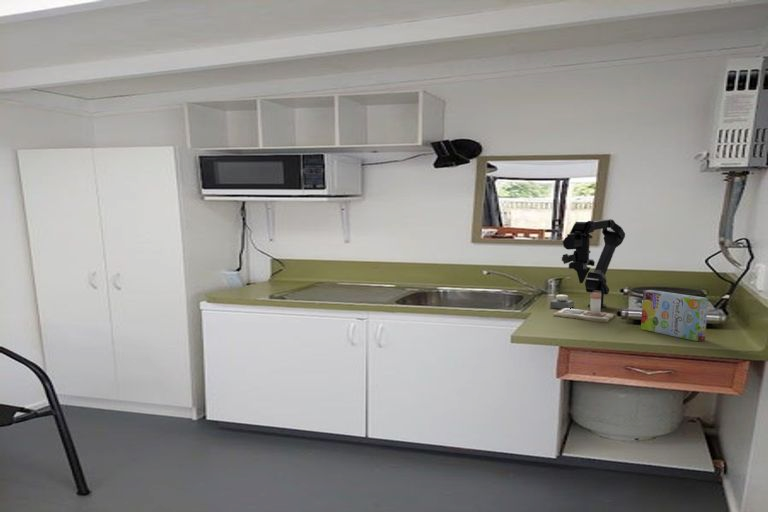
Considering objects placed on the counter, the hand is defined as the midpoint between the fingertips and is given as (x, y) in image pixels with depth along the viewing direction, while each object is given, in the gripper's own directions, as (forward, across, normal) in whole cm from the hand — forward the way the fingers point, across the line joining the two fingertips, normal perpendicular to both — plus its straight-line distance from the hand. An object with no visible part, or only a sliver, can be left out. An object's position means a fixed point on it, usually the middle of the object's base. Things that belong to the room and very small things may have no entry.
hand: (581, 283), depth 228 cm
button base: (+12, +1, -8) cm, 14 cm away
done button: (+11, +1, -8) cm, 14 cm away
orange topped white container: (+11, +14, +10) cm, 20 cm away
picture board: (+12, +14, +6) cm, 19 cm away
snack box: (+12, +26, +40) cm, 49 cm away
